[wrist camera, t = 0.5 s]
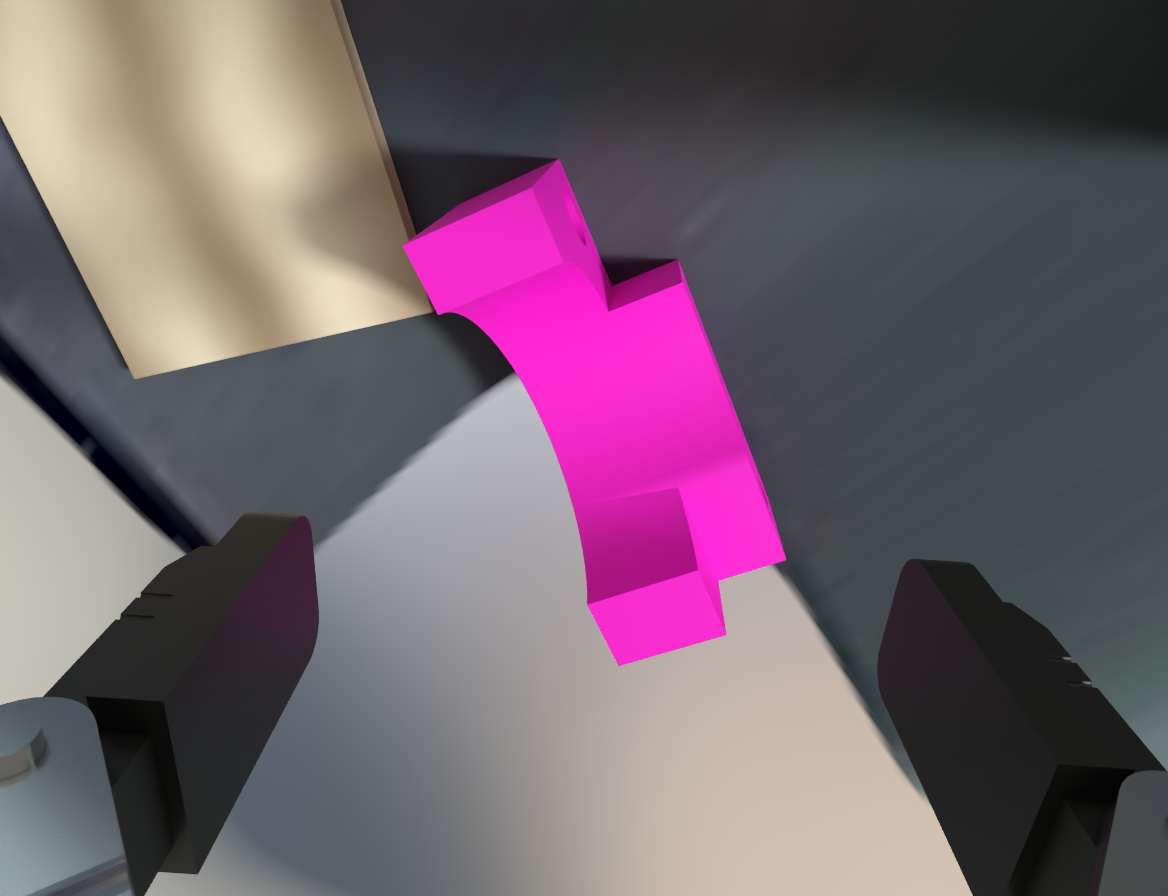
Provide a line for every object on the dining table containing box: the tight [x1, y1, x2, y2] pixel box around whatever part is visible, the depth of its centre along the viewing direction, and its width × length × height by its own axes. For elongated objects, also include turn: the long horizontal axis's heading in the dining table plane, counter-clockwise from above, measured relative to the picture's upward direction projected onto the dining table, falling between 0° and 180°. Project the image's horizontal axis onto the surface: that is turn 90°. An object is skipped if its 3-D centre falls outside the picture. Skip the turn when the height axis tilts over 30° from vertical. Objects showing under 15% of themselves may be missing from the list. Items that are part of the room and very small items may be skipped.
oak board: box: [0, 0, 435, 379], centre depth 25 cm, size 12×20×1 cm, turn 14°
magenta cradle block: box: [403, 159, 786, 666], centre depth 26 cm, size 15×6×8 cm, turn 23°
